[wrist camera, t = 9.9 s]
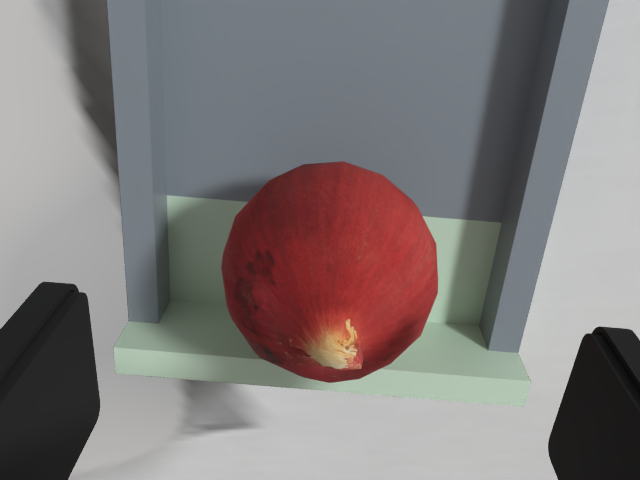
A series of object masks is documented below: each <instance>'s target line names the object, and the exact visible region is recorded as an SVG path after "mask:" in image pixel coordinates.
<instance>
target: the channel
mask: <svg viewBox="0 0 640 480" xmlns="http://www.w3.org/2000/svg"><path fill="white" fill-rule="evenodd" d="M608 2H609V0H107V9H108V24H109V39H110V53H111V68H112V83H113V98H114V112H115V127H116V142H117V156H118V171H119V186H120V201H121V215H122V230H123V244H124V259H125V274H126V288H127V304H128V318H129V322H128V323H127V325H126V327H125V328H124V330H123V332H122V334H121V335H120V337H119V339H118V340H117V342H116V344H115V345H114V347H113V350H114V362H115V373H116V374H126V375H139V376H150V377H163V378H175V379H187V380H200V381H212V382H224V383H237V384H249V385H261V386H274V387H286V388H298V389H311V390H323V391H335V392H348V393H360V394H372V395H385V396H397V397H409V398H422V399H434V400H447V401H459V402H471V403H484V404H496V405H508V406H521V407H524V405H525V402H526V398H527V394H528V391H529V387H530V383H531V380H530V378H529V376H528V374H527V371H526V369H525V367H524V365H523V362H522V360H521V358H520V356H519V354H518V352H519V348H520V344H521V340H522V336H523V332H524V328H525V325H526V321H527V317H528V313H529V309H530V305H531V301H532V297H533V293H534V290H535V286H536V282H537V278H538V274H539V270H540V266H541V262H542V259H543V255H544V251H545V247H546V243H547V239H548V235H549V231H550V227H551V224H552V220H553V216H554V212H555V208H556V204H557V200H558V196H559V193H560V189H561V185H562V181H563V177H564V173H565V169H566V165H567V161H568V158H569V154H570V150H571V146H572V142H573V138H574V134H575V130H576V127H577V123H578V119H579V115H580V111H581V107H582V103H583V99H584V95H585V92H586V88H587V84H588V80H589V76H590V72H591V68H592V64H593V61H594V57H595V53H596V49H597V45H598V41H599V37H600V33H601V29H602V26H603V22H604V18H605V14H606V10H607V6H608ZM341 161H344V162H347V163H350V164H353V165H356V166H359V167H362V168H364V169H367V170H370V171H373V172H376V173H379V174H382V175H384V176H385V177H386V178H387V179H388V180H389V181H391V182H392V183H393V184H394V185H395V186H396V187H398V188H399V189H400V190H401V191H402V192H403V193H405V194H406V195H407V196H408V197H409V198H410V199H412V200H413V202H414V203H415V204H416V206H417V207H418V208H419V210H420V212H421V214H422V216H423V218H424V220H425V222H426V224H427V226H428V228H429V230H430V232H431V234H432V236H433V238H434V240H435V242H436V249H437V268H438V294H437V297H436V299H435V302H434V304H433V307H432V309H431V312H430V314H429V317H428V319H427V322H426V324H425V327H424V329H423V331H422V334H421V336H420V337H419V338H418V339H417V340H416V341H415V342H413V343H412V344H411V345H410V346H409V347H408V348H407V349H406V350H405V351H404V352H403V353H402V354H401V355H400V356H399V357H398V358H396V359H395V360H394V361H393V362H392V363H391V364H389V365H387V366H385V367H383V368H381V369H379V370H377V371H375V372H373V373H371V374H369V375H367V376H365V377H363V378H361V379H356V380H349V381H341V382H334V383H327V382H322V381H318V380H313V379H308V378H304V377H301V376H298V375H296V374H294V373H292V372H290V371H288V370H285V369H283V368H281V367H279V366H277V365H274V364H272V363H270V362H268V361H266V360H263V359H261V358H260V357H259V356H258V355H257V354H256V353H255V352H254V351H253V349H252V348H251V346H250V345H249V344H248V342H247V341H246V339H245V338H244V336H243V335H242V333H241V332H240V330H239V329H238V327H237V326H236V324H235V323H234V322H233V320H232V318H231V316H230V313H229V311H228V308H227V304H226V297H225V290H224V283H223V276H222V269H221V265H222V257H223V252H224V249H225V246H226V243H227V240H228V237H229V234H230V231H231V228H232V225H233V222H234V219H235V216H236V215H237V214H238V213H239V212H240V211H241V209H242V208H243V207H244V206H245V205H246V204H247V203H248V202H249V201H250V200H251V199H252V198H253V197H254V196H255V195H256V194H257V193H258V191H259V190H260V189H261V188H262V187H263V186H264V185H265V184H266V183H267V182H268V181H269V180H271V179H273V178H275V177H277V176H279V175H281V174H283V173H286V172H288V171H290V170H292V169H294V168H296V167H298V166H301V165H303V164H314V163H327V162H341Z"/></svg>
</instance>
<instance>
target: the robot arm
mask: <svg viewBox="0 0 640 480" xmlns="http://www.w3.org/2000/svg"><path fill="white" fill-rule="evenodd" d="M97 382H98V381H97V373H96V365H95V357H94V347H93V339H92V331H91V323H90V314H89V306H88V299H87V296H86V294H85V293H81V292H79V291H78V288H77V287H76V285H74V284H66V283H53V282H42V283H41V284H39V285H38V287H37V288H36V289H35V290H34V291H33V292H32V293H31V295H30V296H29V297H28V298H27V299H26V300H25V302H24V303H23V304H22V305H21V306H20V308H19V309H18V310H17V311H16V312H15V313H14V314H13V316H12V317H11V318H10V319H9V320H8V321H7V322H6V324H5V325H4V326H3V327H2V328H1V329H0V480H68V478H69V476H70V474H71V472H72V470H73V468H74V466H75V464H76V462H77V460H78V458H79V456H80V454H81V452H82V450H83V448H84V446H85V444H86V442H87V440H88V438H89V436H90V434H91V432H92V430H93V428H94V426H95V424H96V422H97V419H98V416H99V411H100V398H99V390H98V383H97ZM548 451H549V457H550V460H551V463H552V465H553V468H554V470H555V473H556V475H557V478H558V480H640V340H639V339H638V337H637V336H636V335H635V333H634V332H633V331H632V330H629V329H622V328H609V327H597V328H595V330H594V331H593V332H592V334H585V336H584V337H583V339H582V341H581V344H580V347H579V350H578V353H577V356H576V359H575V362H574V365H573V369H572V372H571V375H570V378H569V381H568V384H567V387H566V390H565V393H564V396H563V399H562V402H561V405H560V408H559V411H558V414H557V417H556V420H555V423H554V426H553V429H552V432H551V435H550V438H549V444H548Z"/></svg>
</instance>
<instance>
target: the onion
mask: <svg viewBox="0 0 640 480" xmlns="http://www.w3.org/2000/svg"><path fill="white" fill-rule="evenodd" d="M221 269H222V276H223V283H224V290H225V297H226V304H227V308H228V311H229V313H230V316H231V318H232V320H233V322H234V323H235V324H236V326H237V327H238V329H239V330H240V332H241V333H242V335H243V336H244V338H245V339H246V341H247V342H248V344H249V345H250V346H251V348H252V349H253V351H254V352H255V353H256V354H257V355H258V356H259V357H260V358H261V359H263V360H266V361H268V362H270V363H272V364H274V365H277V366H279V367H281V368H283V369H285V370H288V371H290V372H292V373H294V374H296V375H298V376H301V377H304V378H308V379H313V380H318V381H322V382H327V383H334V382H341V381H349V380H356V379H361V378H363V377H365V376H367V375H369V374H371V373H373V372H375V371H377V370H379V369H381V368H383V367H385V366H387V365H389V364H391V363H392V362H393V361H394V360H395V359H396V358H398V357H399V356H400V355H401V354H402V353H403V352H404V351H405V350H406V349H407V348H408V347H409V346H410V345H411V344H412V343H413V342H415V341H416V340H417V339H418V338H419V337H420V336H421V334H422V331H423V329H424V327H425V324H426V322H427V319H428V317H429V314H430V312H431V309H432V307H433V304H434V302H435V299H436V297H437V294H438V268H437V249H436V242H435V240H434V238H433V236H432V234H431V232H430V230H429V228H428V226H427V224H426V222H425V220H424V218H423V216H422V214H421V212H420V210H419V208H418V207H417V206H416V204H415V203H414V202H413V200H412V199H410V198H409V197H408V196H407V195H406V194H405V193H403V192H402V191H401V190H400V189H399V188H398V187H396V186H395V185H394V184H393V183H392V182H391V181H389V180H388V179H387V178H386V177H385V176H384V175H382V174H379V173H376V172H373V171H370V170H367V169H364V168H362V167H359V166H356V165H353V164H350V163H347V162H344V161H341V162H327V163H314V164H303V165H301V166H298V167H296V168H294V169H292V170H290V171H288V172H286V173H283V174H281V175H279V176H277V177H275V178H273V179H271V180H269V181H268V182H267V183H266V184H265V185H264V186H263V187H262V188H261V189H260V190H259V191H258V193H257V194H256V195H255V196H254V197H253V198H252V199H251V200H250V201H249V202H248V203H247V204H246V205H245V206H244V207H243V208H242V209H241V211H240V212H239V213H238V214H237V215H236V216H235V219H234V222H233V225H232V228H231V231H230V234H229V237H228V240H227V243H226V246H225V249H224V252H223V257H222V265H221Z"/></svg>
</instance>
